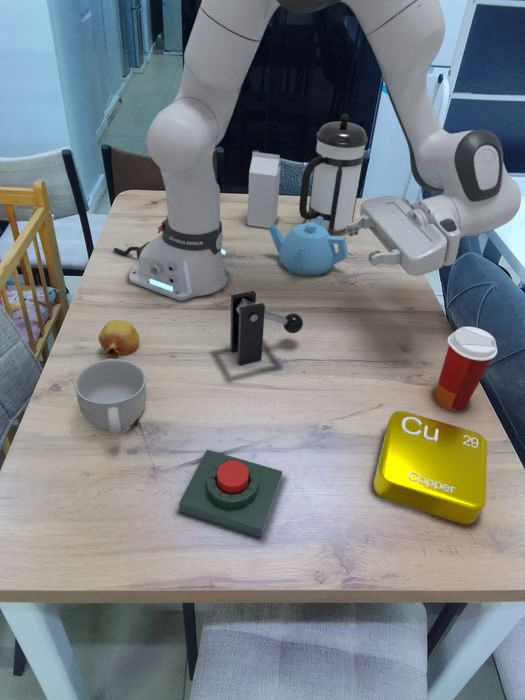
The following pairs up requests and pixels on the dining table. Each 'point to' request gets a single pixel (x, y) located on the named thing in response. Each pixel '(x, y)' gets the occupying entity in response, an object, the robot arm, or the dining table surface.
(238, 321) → the bracket
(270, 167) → the milk carton
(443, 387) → the paper cup
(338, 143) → the coffee press
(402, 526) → the dining table surface
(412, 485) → the element tile
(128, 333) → the fruit
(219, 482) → the button
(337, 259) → the teapot
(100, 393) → the teacup
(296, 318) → the lever
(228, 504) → the box
